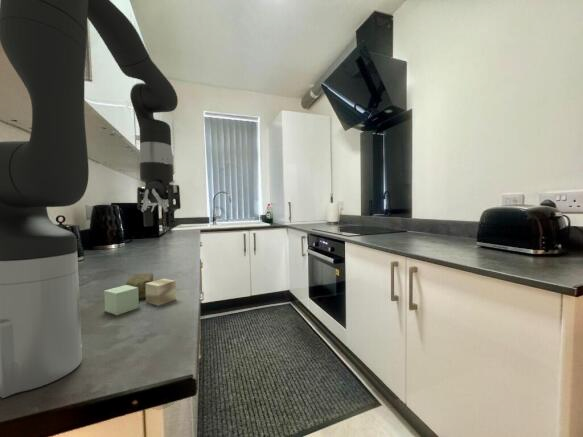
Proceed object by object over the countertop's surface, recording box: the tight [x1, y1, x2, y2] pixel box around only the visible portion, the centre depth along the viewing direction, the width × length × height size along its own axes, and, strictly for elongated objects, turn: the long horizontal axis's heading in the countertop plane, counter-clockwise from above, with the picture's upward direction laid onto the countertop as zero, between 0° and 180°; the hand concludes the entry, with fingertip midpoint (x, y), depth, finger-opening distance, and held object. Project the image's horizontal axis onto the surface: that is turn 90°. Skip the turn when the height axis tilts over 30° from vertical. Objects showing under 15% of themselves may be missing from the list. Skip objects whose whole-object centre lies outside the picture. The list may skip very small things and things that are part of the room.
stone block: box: [124, 272, 154, 300], centre depth 73 cm, size 6×12×5 cm, turn 24°
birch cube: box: [145, 278, 177, 307], centre depth 67 cm, size 5×5×5 cm
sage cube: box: [103, 284, 140, 316], centre depth 61 cm, size 5×5×5 cm
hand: (158, 226), depth 66 cm, fingers open, 8 cm apart
